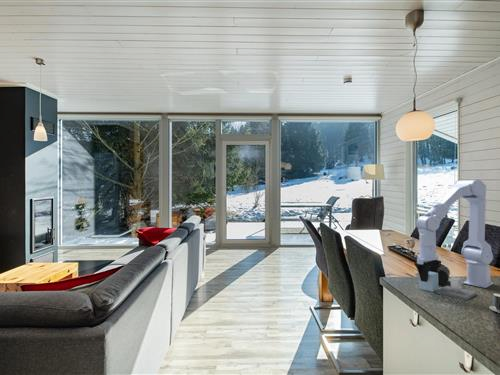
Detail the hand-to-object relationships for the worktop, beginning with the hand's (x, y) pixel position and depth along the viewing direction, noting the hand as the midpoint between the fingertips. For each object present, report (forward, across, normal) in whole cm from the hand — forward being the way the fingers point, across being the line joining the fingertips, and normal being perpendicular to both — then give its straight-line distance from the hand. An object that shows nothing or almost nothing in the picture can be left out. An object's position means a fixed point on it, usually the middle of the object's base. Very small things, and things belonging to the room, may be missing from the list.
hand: (428, 279), depth 123 cm
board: (+4, -2, +9) cm, 10 cm away
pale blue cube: (+4, 0, 0) cm, 4 cm away
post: (+4, -2, +9) cm, 10 cm away
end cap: (+4, -13, -1) cm, 14 cm away
